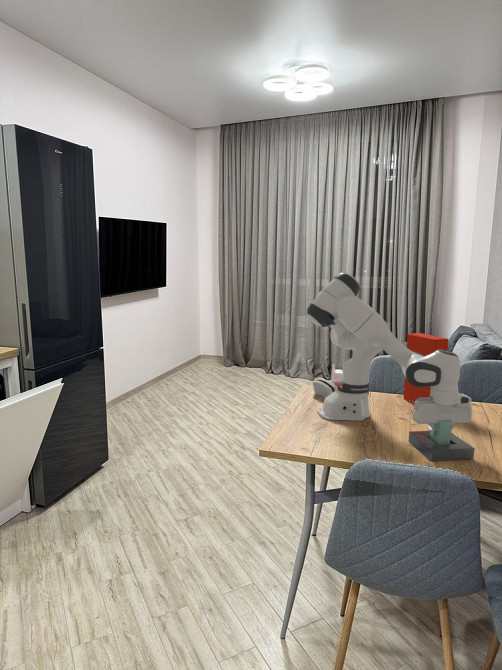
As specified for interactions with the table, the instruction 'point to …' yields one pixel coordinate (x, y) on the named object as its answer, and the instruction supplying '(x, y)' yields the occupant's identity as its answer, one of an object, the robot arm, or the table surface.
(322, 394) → the grey napkin holder
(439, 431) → the sage green box
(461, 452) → the collar block
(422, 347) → the file binder
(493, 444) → the table surface
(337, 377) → the ink cartridge box
